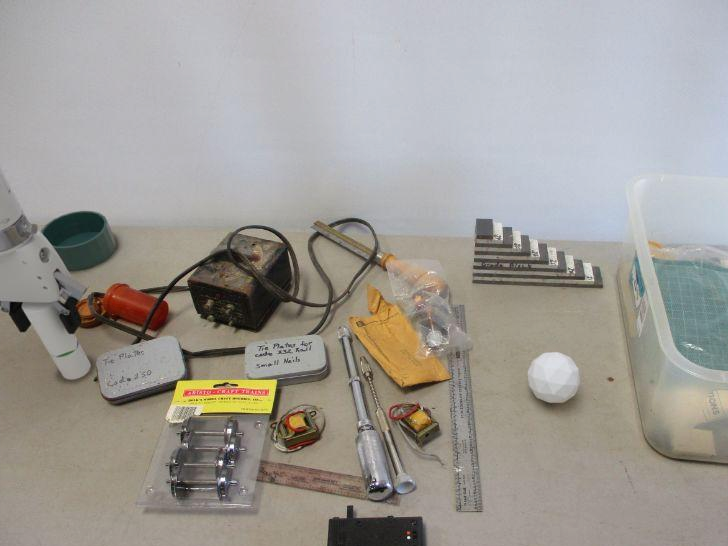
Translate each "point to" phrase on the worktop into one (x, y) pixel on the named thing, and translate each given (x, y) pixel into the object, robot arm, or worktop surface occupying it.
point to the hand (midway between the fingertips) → (51, 325)
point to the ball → (553, 377)
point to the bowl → (80, 239)
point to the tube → (57, 339)
